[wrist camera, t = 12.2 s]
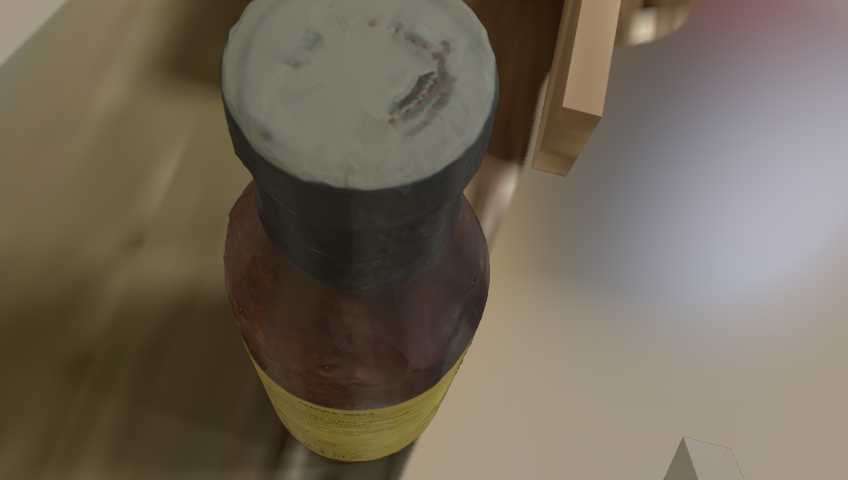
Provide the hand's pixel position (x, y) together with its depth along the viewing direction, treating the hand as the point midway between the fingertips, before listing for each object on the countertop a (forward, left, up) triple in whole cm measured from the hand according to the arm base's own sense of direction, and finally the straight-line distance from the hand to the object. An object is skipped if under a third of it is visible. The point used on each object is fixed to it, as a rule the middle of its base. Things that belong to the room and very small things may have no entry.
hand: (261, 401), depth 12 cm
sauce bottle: (-1, -4, -17) cm, 17 cm away
